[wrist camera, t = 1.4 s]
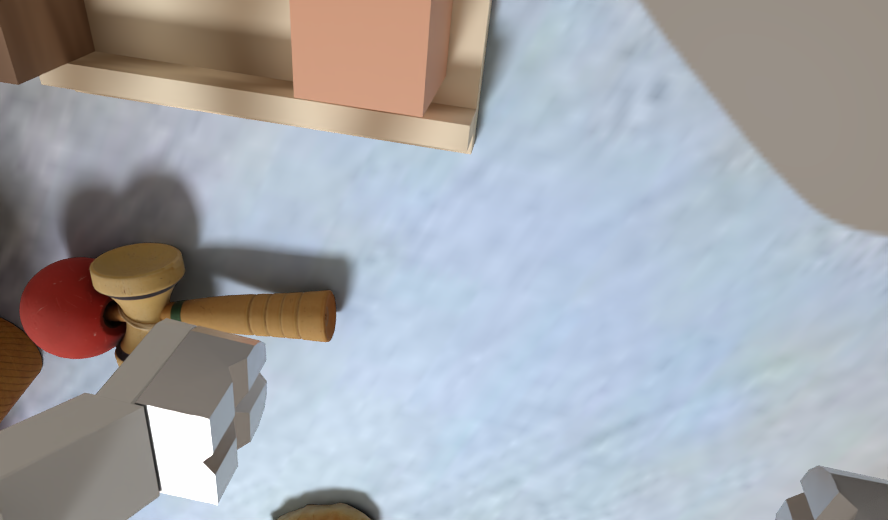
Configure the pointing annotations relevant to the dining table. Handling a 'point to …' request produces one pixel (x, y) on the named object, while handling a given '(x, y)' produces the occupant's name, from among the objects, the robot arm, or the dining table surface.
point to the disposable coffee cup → (15, 365)
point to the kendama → (151, 305)
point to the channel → (225, 63)
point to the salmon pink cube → (370, 52)
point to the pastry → (325, 513)
